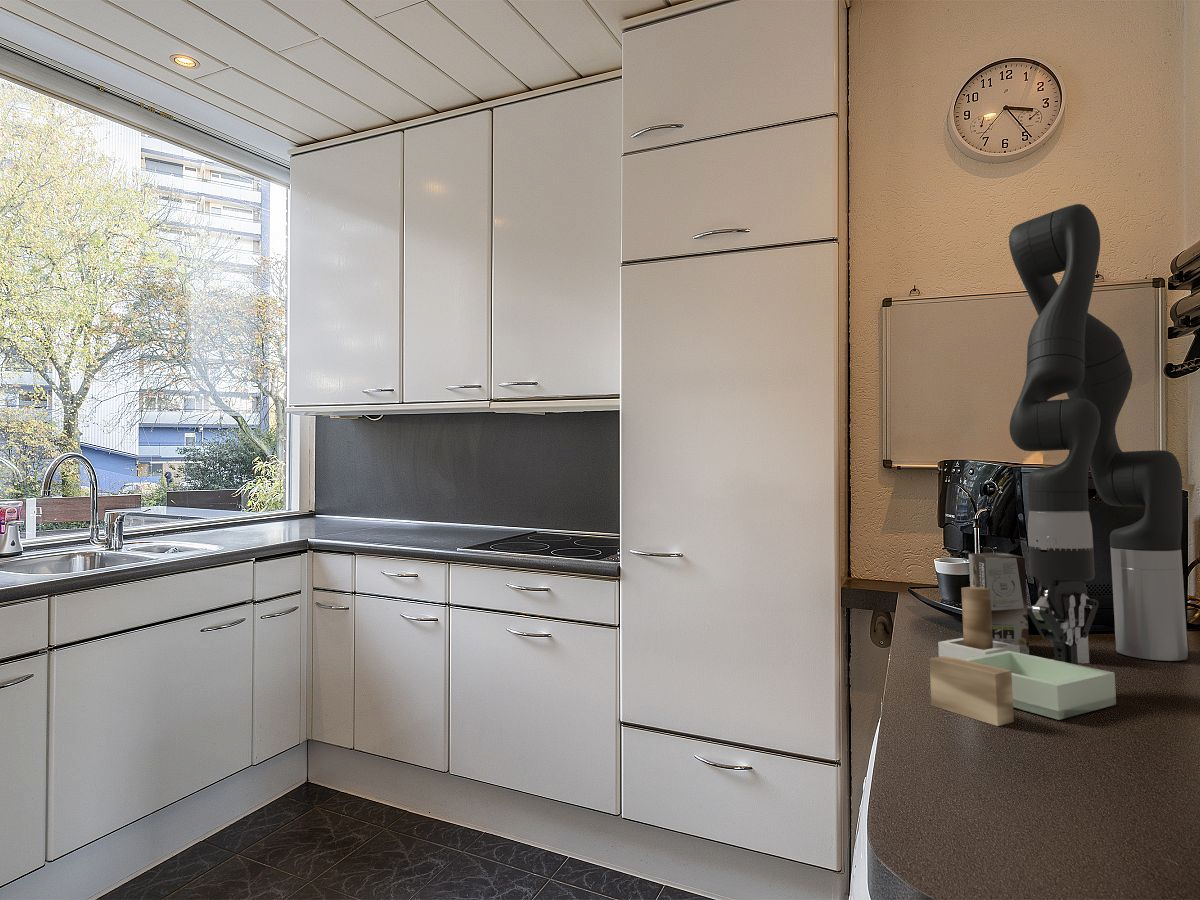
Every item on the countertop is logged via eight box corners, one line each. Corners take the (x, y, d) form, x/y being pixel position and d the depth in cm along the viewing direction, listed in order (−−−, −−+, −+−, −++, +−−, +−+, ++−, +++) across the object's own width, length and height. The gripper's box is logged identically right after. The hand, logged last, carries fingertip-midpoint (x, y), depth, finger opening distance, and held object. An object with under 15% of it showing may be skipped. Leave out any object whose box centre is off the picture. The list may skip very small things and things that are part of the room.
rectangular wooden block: (947, 702, 92) (945, 655, 93) (1013, 721, 84) (1011, 670, 85) (931, 705, 91) (929, 658, 91) (997, 726, 83) (995, 674, 83)
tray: (1009, 678, 102) (1008, 650, 102) (1116, 704, 89) (1114, 672, 90) (954, 690, 97) (952, 660, 97) (1058, 719, 84) (1057, 685, 84)
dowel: (975, 662, 112) (972, 586, 113) (999, 667, 109) (996, 589, 109) (959, 665, 111) (955, 588, 111) (982, 671, 107) (979, 591, 108)
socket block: (972, 658, 115) (971, 636, 115) (1020, 669, 108) (1019, 645, 108) (939, 664, 111) (938, 641, 112) (986, 676, 104) (985, 652, 104)
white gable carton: (1061, 661, 112) (1057, 597, 113) (1062, 652, 118) (1059, 592, 118) (1089, 664, 110) (1085, 599, 111) (1089, 655, 116) (1085, 593, 116)
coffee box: (1031, 655, 116) (1026, 556, 117) (988, 654, 117) (984, 556, 118) (1011, 643, 125) (1006, 551, 126) (971, 642, 126) (967, 551, 127)
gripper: (1060, 540, 104) (1067, 659, 103) (1003, 544, 98) (1009, 671, 97) (1117, 543, 97) (1124, 671, 96) (1059, 548, 91) (1066, 684, 90)
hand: (1066, 671), depth 96 cm, fingers closed
